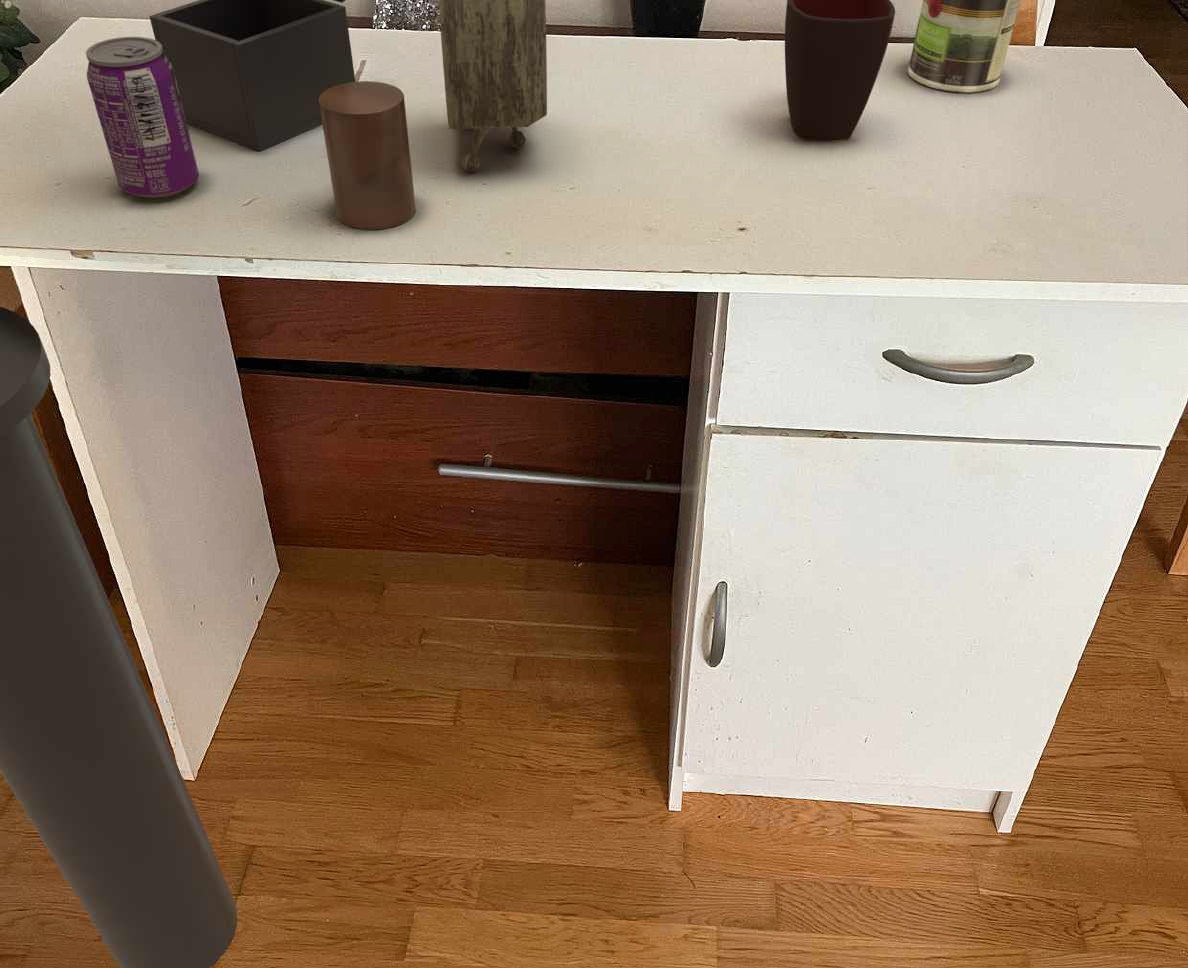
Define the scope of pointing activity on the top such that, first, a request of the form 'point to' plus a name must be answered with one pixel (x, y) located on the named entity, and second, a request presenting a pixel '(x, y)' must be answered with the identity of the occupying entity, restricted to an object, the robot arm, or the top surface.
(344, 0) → the lid
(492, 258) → the top surface
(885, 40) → the cup
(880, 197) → the top surface
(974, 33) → the coffee can
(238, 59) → the open storage bin
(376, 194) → the stand
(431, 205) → the top surface
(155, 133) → the beverage can
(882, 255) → the top surface
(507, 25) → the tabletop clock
